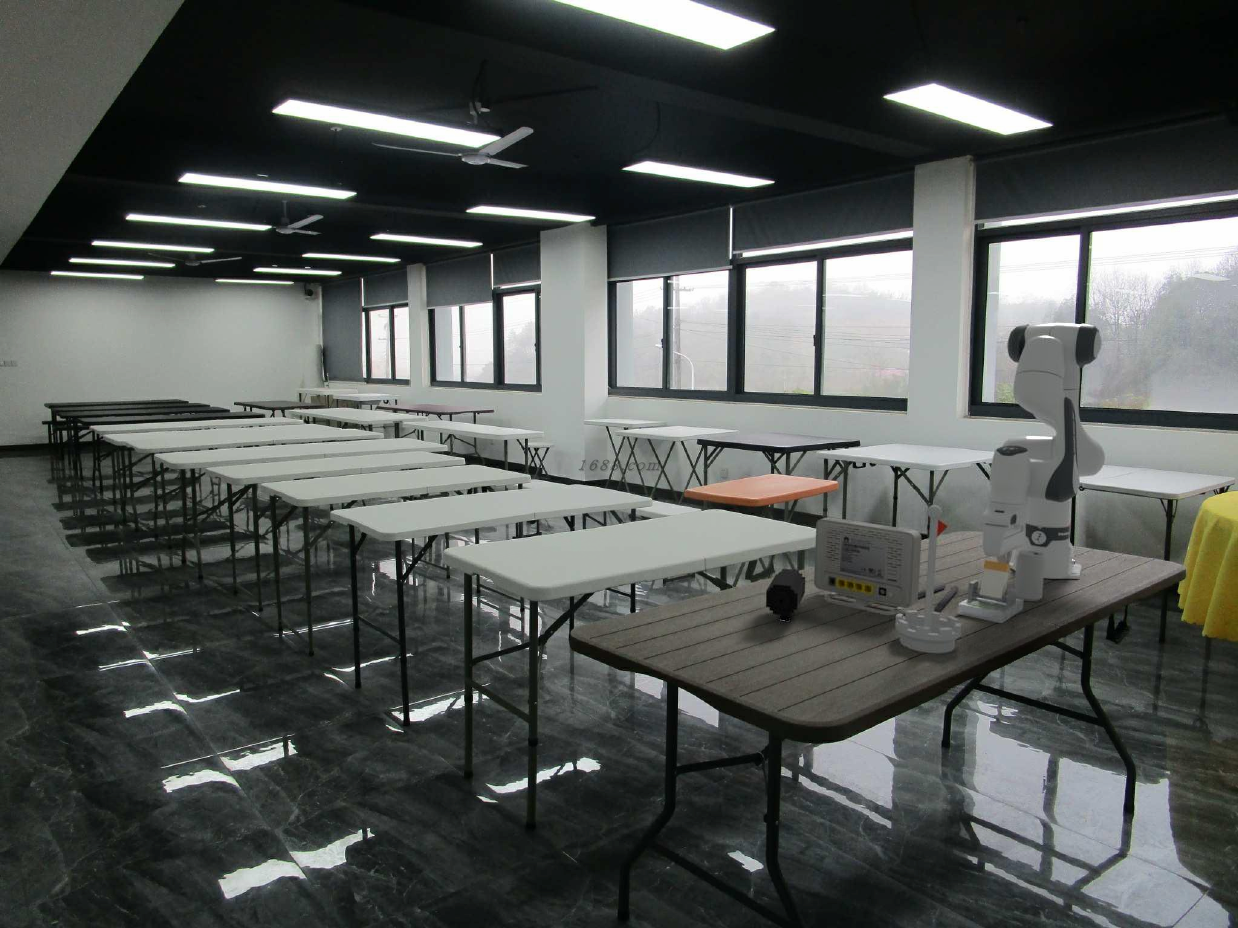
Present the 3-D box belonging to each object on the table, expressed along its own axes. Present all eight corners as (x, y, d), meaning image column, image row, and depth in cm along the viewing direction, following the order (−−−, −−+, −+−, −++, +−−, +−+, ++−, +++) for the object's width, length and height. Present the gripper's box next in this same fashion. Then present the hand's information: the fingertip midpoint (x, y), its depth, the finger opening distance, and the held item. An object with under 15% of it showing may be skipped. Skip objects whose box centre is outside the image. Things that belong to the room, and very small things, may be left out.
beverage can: (1045, 602, 204) (1048, 556, 202) (1017, 601, 205) (1020, 554, 203) (1037, 595, 210) (1041, 550, 208) (1010, 594, 211) (1014, 548, 210)
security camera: (805, 607, 198) (807, 567, 197) (795, 631, 181) (797, 587, 180) (776, 604, 200) (778, 564, 199) (764, 627, 183) (766, 584, 182)
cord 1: (940, 587, 216) (940, 582, 216) (945, 588, 215) (945, 583, 215) (904, 601, 204) (904, 595, 204) (909, 602, 203) (909, 597, 203)
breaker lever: (977, 597, 199) (983, 560, 200) (1008, 603, 194) (1014, 565, 195) (974, 596, 197) (980, 559, 198) (1005, 602, 192) (1012, 564, 193)
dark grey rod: (952, 590, 214) (952, 585, 214) (958, 591, 213) (958, 586, 213) (933, 612, 195) (933, 606, 195) (939, 613, 194) (939, 607, 194)
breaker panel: (980, 600, 205) (982, 575, 204) (1022, 609, 198) (1024, 583, 198) (957, 613, 194) (959, 587, 193) (1001, 623, 187) (1003, 595, 187)
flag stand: (936, 659, 165) (945, 513, 161) (882, 641, 175) (889, 503, 171) (972, 646, 172) (981, 506, 168) (918, 629, 183) (925, 497, 179)
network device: (921, 611, 196) (925, 529, 193) (905, 619, 190) (910, 535, 187) (825, 590, 213) (828, 515, 211) (807, 597, 207) (811, 519, 204)
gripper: (1007, 506, 208) (1003, 559, 210) (979, 516, 193) (975, 573, 195) (1034, 509, 204) (1030, 563, 206) (1007, 520, 189) (1003, 578, 191)
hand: (1003, 568), depth 200 cm, fingers closed
